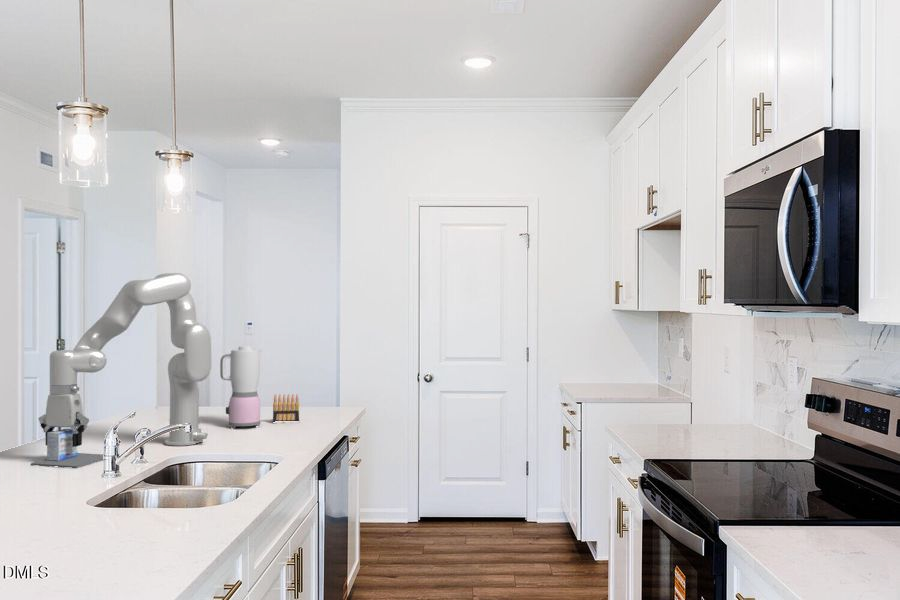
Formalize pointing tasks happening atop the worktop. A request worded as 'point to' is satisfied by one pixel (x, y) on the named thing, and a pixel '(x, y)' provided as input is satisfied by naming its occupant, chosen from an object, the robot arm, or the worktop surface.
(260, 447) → the worktop surface
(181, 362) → the robot arm
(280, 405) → the ammunition clip
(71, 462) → the mat
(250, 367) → the blender
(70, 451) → the medicine box
